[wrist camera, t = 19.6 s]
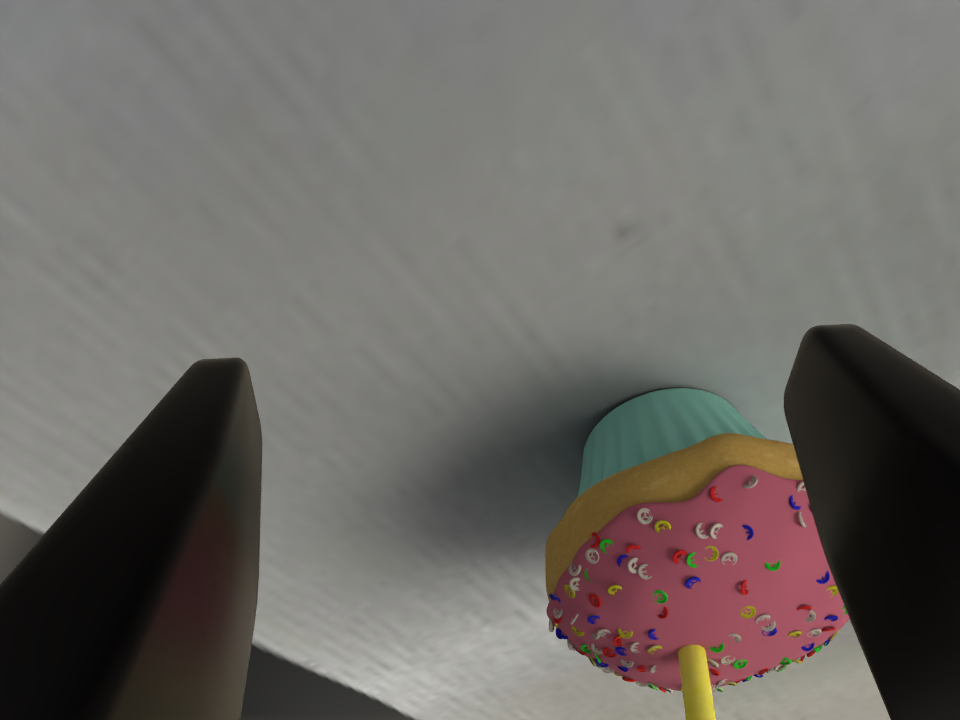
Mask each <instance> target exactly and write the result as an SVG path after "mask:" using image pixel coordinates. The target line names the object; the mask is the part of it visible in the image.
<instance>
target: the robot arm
mask: <svg viewBox="0 0 960 720" xmlns="http://www.w3.org/2000/svg"><path fill="white" fill-rule="evenodd" d="M784 411H785V416H786V420H787V424H788V427H789V431H790V434H791V438H792V442H793V445H794V449H795V452H796V456H797V460H798V463H799V467H800V470H801V474H802V478H803V481H804V485H805V488H806V492H807V496H808V499H809V503H810V507H811V510H812V514H813V517H814V521H815V525H816V528H817V532H818V535H819V538H820V542H821V545H822V548H823V551H824V554H825V557H826V560H827V563H828V565H829V568H830V571H831V573H832V576H833V579H834V581H835V584H836V586H837V589H838V591H839V593H840V596H841V598H842V601H843V603H844V606H845V608H846V611H847V613H848V616H849V618H850V620H851V623H852V625H853V628H854V630H855V633H856V635H857V638H858V640H859V643H860V645H861V647H862V650H863V652H864V655H865V657H866V660H867V662H868V665H869V667H870V670H871V672H872V674H873V677H874V679H875V682H876V684H877V687H878V689H879V692H880V694H881V697H882V699H883V701H884V704H885V706H886V709H887V711H888V714H889V716H890V719H891V720H960V390H959V389H958V388H956V387H954V386H953V385H951V384H950V383H948V382H946V381H945V380H943V379H942V378H940V377H939V376H937V375H935V374H934V373H932V372H931V371H929V370H927V369H926V368H924V367H923V366H921V365H919V364H918V363H916V362H915V361H913V360H912V359H910V358H908V357H907V356H905V355H904V354H902V353H900V352H899V351H897V350H896V349H894V348H892V347H891V346H889V345H888V344H886V343H885V342H883V341H881V340H880V339H878V338H877V337H875V336H873V335H872V334H870V333H869V332H867V331H866V330H864V329H862V328H860V327H858V326H856V325H852V324H839V325H820V326H815V327H812V328H810V329H809V330H808V331H807V332H806V333H805V335H804V337H803V339H802V341H801V344H800V347H799V350H798V353H797V356H796V359H795V362H794V365H793V368H792V371H791V374H790V377H789V380H788V382H787V385H786V389H785V393H784ZM261 474H262V433H261V425H260V419H259V415H258V410H257V405H256V401H255V396H254V391H253V387H252V382H251V377H250V373H249V369H248V366H247V364H246V362H245V361H244V360H242V359H240V358H219V359H203V360H199V361H197V362H195V363H194V364H193V365H192V366H191V367H190V368H189V369H188V370H187V371H186V372H185V373H184V375H183V376H182V377H181V378H180V379H179V380H178V381H177V383H176V384H175V385H174V386H173V387H172V388H171V389H170V391H169V392H168V393H167V394H166V395H165V396H164V398H163V399H162V400H161V401H160V402H159V403H158V404H157V406H156V407H155V408H154V409H153V410H152V411H151V412H150V414H149V415H148V416H147V417H146V418H145V419H144V420H143V422H142V423H141V424H140V425H139V426H138V427H137V428H136V430H135V431H134V432H133V433H132V434H131V435H130V436H129V438H128V439H127V440H126V441H125V442H124V443H123V445H122V446H121V447H120V448H119V449H118V450H117V451H116V453H115V454H114V455H113V456H112V457H111V458H110V459H109V461H108V462H107V463H106V464H105V465H104V466H103V467H102V469H101V470H100V471H99V472H98V473H97V474H96V475H95V477H94V478H93V479H92V480H91V481H90V482H89V483H88V485H87V486H86V487H85V488H84V489H83V490H82V492H81V493H80V494H79V495H78V496H77V497H76V498H75V500H74V501H73V502H72V503H71V504H70V505H69V506H68V508H67V509H66V510H65V511H64V512H63V513H62V514H61V516H60V517H59V518H58V519H57V520H56V521H55V522H54V524H53V525H52V526H51V527H50V528H49V529H48V530H47V532H46V533H45V534H44V535H43V536H42V537H41V539H40V540H39V541H38V542H37V543H36V544H35V545H34V547H33V548H32V549H31V550H30V551H29V552H28V553H27V555H26V556H25V557H24V558H23V559H22V560H21V561H20V563H19V564H18V565H17V566H16V567H15V568H14V570H13V571H12V572H11V573H10V574H9V575H8V576H7V577H6V579H5V580H4V581H3V582H2V583H1V584H0V720H240V715H241V708H242V702H243V696H244V689H245V683H246V676H247V670H248V663H249V657H250V650H251V644H252V637H253V631H254V624H255V616H256V607H257V596H258V580H259V549H260V511H261Z"/></svg>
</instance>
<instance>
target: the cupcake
mask: <svg viewBox="0 0 960 720" xmlns="http://www.w3.org/2000/svg"><path fill="white" fill-rule="evenodd" d="M546 589H547V595H548V599H549V604H548V607H547V615H548V617H549V619H550V620H549V630H550V632H553V631H554V626H555V627H556V636H557V637H558V638H559V639H567V644H568V647H569V649H570V650H573V651H575V650H576V651H578V652H579V653H580V654H582V655H585V656H587V657H588V658H589V659H590V661H591V663H592V664H593V665H594V666H597V667H599V668H601V669H602V671H604V672H606V673H611V672H614V674H615V675H617V676H623V677H622V679H623V680H625V681H628V682H635V681H636V684H637V685H639V686H648V687H650V688H653V689H656V690H658V689H660V690H661V691H663V692H666V691H669V692H670V693H671V694H672V693H673V692H672V690H677V691H682V692H683V698H684V706H685V714H686V720H716V717H715V711H714V704H713V697H712V692H714V691H716V690H717V691H721V692H723V689H722V688H720V687H721V686H724V685H727V684H728V685H737V683H738V682H740V681H741V680H742V681H743V682H745V681H749V680H750V679H751V677H752V675H754V676H756V677H763V673H765V672H767V673H768V672H770V671H772V670H775V671H782V670H783V669H785V667H786V665H788V664H790V663H791V661H793V662H797V663H802V661H803V659H804V657H805V655H806V654H807V656H808V657H810V656H812V655H813V654H814V653H815V652H819V651H820V649H821V647H822V645H823V644H824V646H827V645H828V643H829V642H830V641H832V639H833V638H834V637H835V635H836V634H837V632H838V631H839V630H840V629H841V628H842V627H843V626H844V625H845V623H846V622H847V621H848V620H849V619H850V618H849V616H848V613H847V611H846V608H845V606H844V603H843V601H842V598H841V596H840V593H839V591H838V589H837V586H836V584H835V581H834V579H833V576H832V573H831V571H830V568H829V565H828V563H827V560H826V557H825V554H824V551H823V548H822V545H821V542H820V538H819V535H818V532H817V528H816V525H815V521H814V517H813V514H812V510H811V507H810V503H809V499H808V496H807V492H806V488H805V485H804V481H803V478H802V474H801V470H800V467H799V463H798V460H797V456H796V452H795V449H794V445H793V444H789V443H784V442H779V441H774V440H768V439H766V438H765V437H764V436H763V435H762V434H760V433H759V432H758V431H757V430H756V429H755V428H754V427H753V426H752V425H751V424H750V423H749V422H748V421H747V420H746V419H745V418H744V417H743V416H742V415H741V414H740V413H739V412H738V411H737V410H736V409H735V408H734V407H733V406H732V405H731V404H730V403H729V402H727V401H726V400H724V399H723V398H721V397H719V396H717V395H715V394H713V393H710V392H707V391H703V390H698V389H690V388H672V389H664V390H658V391H654V392H650V393H647V394H644V395H641V396H638V397H636V398H633V399H631V400H629V401H627V402H625V403H623V404H621V405H620V406H618V407H617V408H615V409H614V410H612V411H611V412H610V413H608V414H607V415H606V416H605V417H604V418H603V419H602V420H601V421H600V422H599V423H598V424H597V425H596V426H595V428H594V429H593V430H592V432H591V434H590V435H589V437H588V439H587V442H586V444H585V447H584V452H583V462H582V473H581V480H580V487H579V493H578V498H577V499H575V500H574V501H573V503H572V504H571V505H570V506H569V508H568V509H567V511H566V513H565V515H564V516H563V518H562V520H561V521H560V523H559V524H558V525H557V526H556V527H555V528H554V530H553V531H552V532H551V533H550V535H549V537H548V540H547V543H546ZM551 627H552V629H551ZM558 632H559V633H558ZM799 657H801V659H800V660H797V658H799ZM782 665H783V666H782ZM626 678H628V679H626ZM745 678H746V679H745Z"/></svg>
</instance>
